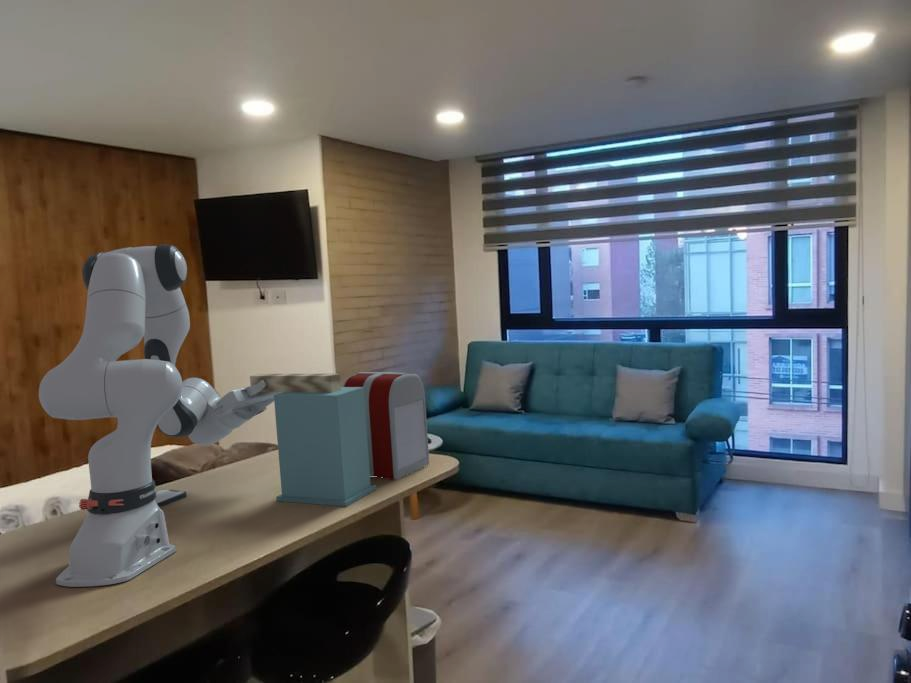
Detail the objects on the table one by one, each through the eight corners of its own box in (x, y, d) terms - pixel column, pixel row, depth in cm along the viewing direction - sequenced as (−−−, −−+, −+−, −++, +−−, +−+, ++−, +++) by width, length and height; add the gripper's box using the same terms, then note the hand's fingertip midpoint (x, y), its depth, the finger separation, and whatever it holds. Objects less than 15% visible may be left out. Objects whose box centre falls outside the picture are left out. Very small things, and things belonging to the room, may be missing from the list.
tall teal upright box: (376, 489, 178) (369, 386, 175) (346, 506, 165) (338, 396, 162) (309, 484, 185) (301, 386, 183) (276, 500, 173) (267, 395, 170)
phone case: (136, 518, 167) (189, 497, 181) (136, 512, 167) (188, 491, 181) (111, 515, 171) (164, 494, 185) (110, 509, 171) (164, 488, 185)
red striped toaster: (396, 480, 185) (389, 377, 182) (344, 474, 194) (337, 376, 192) (431, 464, 199) (425, 369, 196) (381, 459, 208) (374, 368, 206)
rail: (341, 389, 173) (339, 373, 172) (331, 392, 169) (330, 375, 169) (261, 389, 182) (260, 373, 182) (251, 391, 179) (249, 376, 178)
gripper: (202, 404, 174) (238, 376, 169) (256, 390, 193) (290, 365, 188) (214, 426, 173) (251, 399, 168) (267, 410, 192) (302, 385, 187)
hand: (272, 381), depth 178 cm, fingers closed on rail, 4 cm apart
